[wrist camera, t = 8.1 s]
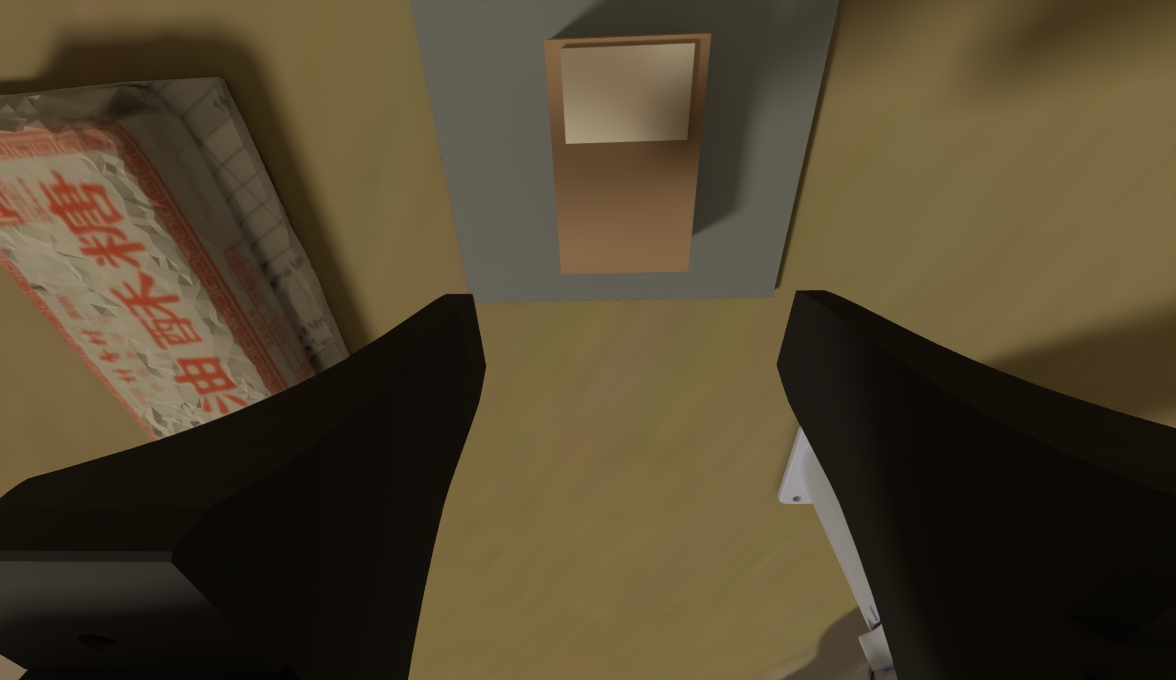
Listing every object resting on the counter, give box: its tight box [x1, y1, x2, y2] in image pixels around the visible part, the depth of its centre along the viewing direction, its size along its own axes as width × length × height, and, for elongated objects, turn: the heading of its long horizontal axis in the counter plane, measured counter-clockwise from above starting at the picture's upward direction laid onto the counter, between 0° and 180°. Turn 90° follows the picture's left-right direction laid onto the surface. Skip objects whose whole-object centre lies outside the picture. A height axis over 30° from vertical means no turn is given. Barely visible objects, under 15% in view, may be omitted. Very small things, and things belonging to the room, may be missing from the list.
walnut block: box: [544, 32, 711, 274], centre depth 15 cm, size 7×4×3 cm, turn 2°
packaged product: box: [0, 77, 350, 441], centre depth 19 cm, size 18×5×10 cm
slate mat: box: [410, 0, 840, 302], centre depth 17 cm, size 13×12×1 cm
